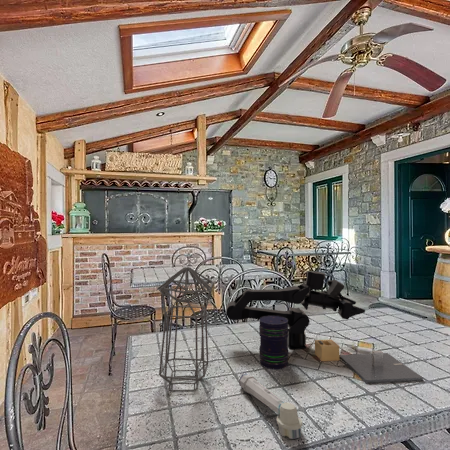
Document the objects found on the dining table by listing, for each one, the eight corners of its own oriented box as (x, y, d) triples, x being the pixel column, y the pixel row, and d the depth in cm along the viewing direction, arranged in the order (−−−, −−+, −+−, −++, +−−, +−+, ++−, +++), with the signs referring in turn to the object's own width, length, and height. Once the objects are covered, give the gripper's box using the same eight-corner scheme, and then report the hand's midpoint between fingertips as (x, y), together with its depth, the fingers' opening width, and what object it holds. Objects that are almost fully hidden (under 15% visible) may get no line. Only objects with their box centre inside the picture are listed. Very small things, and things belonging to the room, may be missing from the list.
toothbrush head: (252, 371, 92) (305, 403, 70) (253, 395, 91) (308, 435, 69) (236, 375, 90) (286, 409, 67) (237, 399, 89) (288, 442, 67)
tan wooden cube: (339, 360, 108) (339, 344, 108) (321, 361, 107) (321, 345, 107) (331, 353, 114) (331, 338, 114) (314, 353, 114) (314, 338, 114)
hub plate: (365, 383, 92) (365, 365, 92) (338, 357, 110) (338, 342, 110) (423, 380, 93) (423, 362, 93) (387, 355, 111) (387, 340, 111)
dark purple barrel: (256, 367, 103) (255, 322, 103) (262, 355, 112) (262, 314, 112) (286, 371, 100) (285, 325, 100) (290, 359, 109) (290, 316, 109)
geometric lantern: (164, 371, 100) (167, 263, 101) (212, 373, 100) (215, 264, 100) (151, 397, 85) (154, 269, 85) (208, 400, 84) (211, 271, 85)
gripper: (331, 286, 111) (375, 294, 110) (318, 273, 129) (355, 280, 129) (325, 315, 112) (368, 324, 111) (313, 299, 130) (349, 306, 130)
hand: (360, 306), depth 120 cm, fingers open, 9 cm apart
